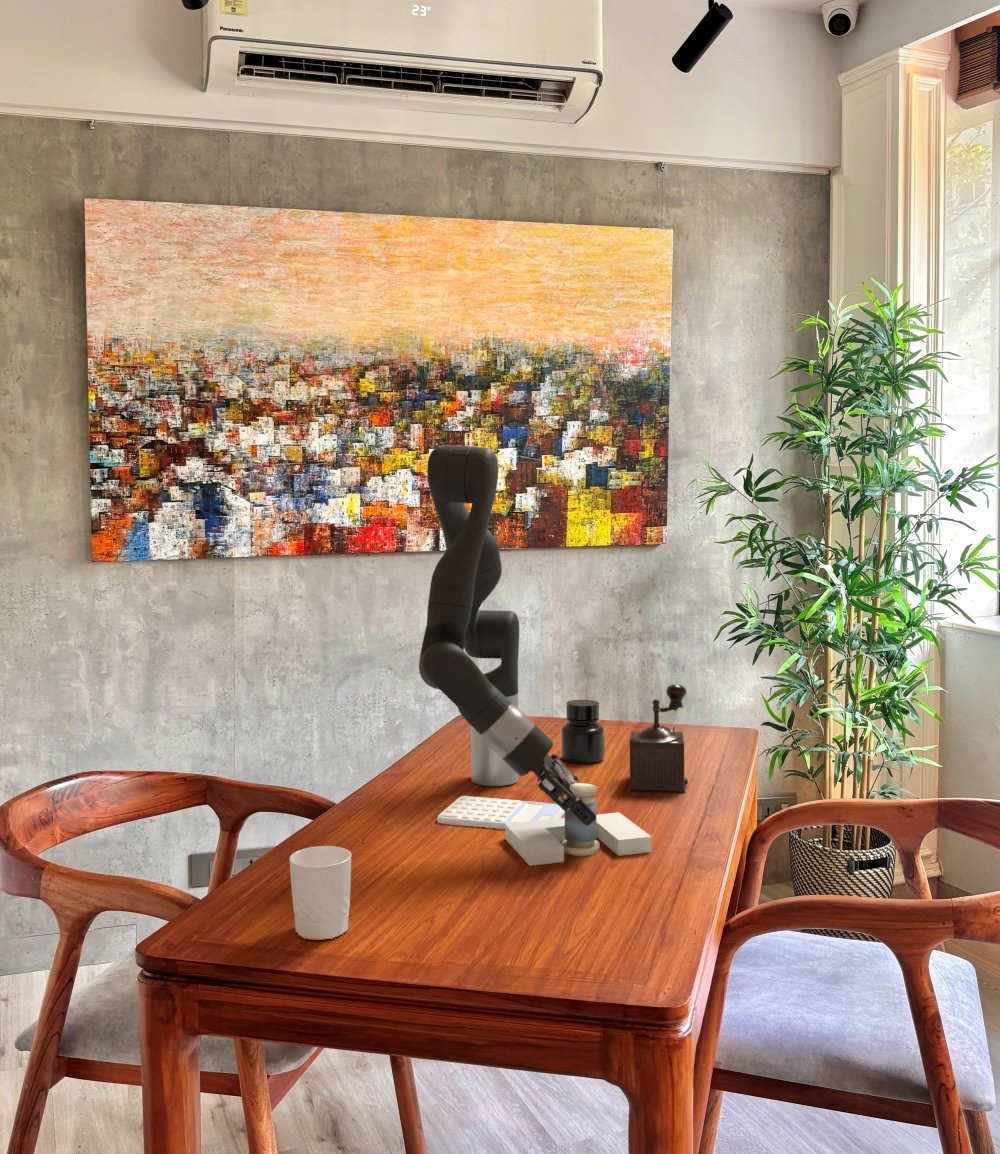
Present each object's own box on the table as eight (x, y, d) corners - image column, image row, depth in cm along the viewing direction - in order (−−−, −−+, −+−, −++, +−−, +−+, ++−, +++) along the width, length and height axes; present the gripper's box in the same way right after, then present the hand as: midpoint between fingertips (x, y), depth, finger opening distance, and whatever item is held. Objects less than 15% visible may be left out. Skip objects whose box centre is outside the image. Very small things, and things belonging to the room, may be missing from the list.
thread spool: (556, 845, 172) (555, 784, 171) (590, 841, 174) (590, 781, 173) (569, 858, 166) (569, 794, 166) (605, 853, 168) (605, 791, 167)
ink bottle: (613, 757, 227) (613, 701, 225) (593, 767, 219) (593, 709, 218) (572, 751, 232) (572, 696, 231) (552, 760, 224) (551, 704, 223)
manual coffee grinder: (688, 793, 200) (689, 698, 199) (628, 791, 202) (629, 696, 200) (685, 771, 215) (686, 682, 214) (630, 769, 217) (630, 681, 215)
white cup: (294, 919, 143) (292, 846, 143) (354, 917, 144) (352, 844, 143) (288, 945, 136) (286, 867, 135) (351, 942, 136) (349, 865, 135)
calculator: (460, 803, 197) (460, 793, 196) (567, 812, 191) (567, 802, 191) (435, 826, 184) (435, 815, 184) (548, 836, 178) (548, 825, 178)
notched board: (505, 838, 175) (504, 823, 175) (619, 826, 181) (619, 812, 181) (529, 865, 163) (529, 849, 163) (651, 852, 169) (651, 836, 168)
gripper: (530, 733, 162) (609, 813, 162) (536, 713, 176) (609, 786, 176) (495, 767, 163) (574, 846, 163) (504, 744, 177) (576, 817, 177)
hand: (592, 814), depth 169 cm, fingers open, 5 cm apart
